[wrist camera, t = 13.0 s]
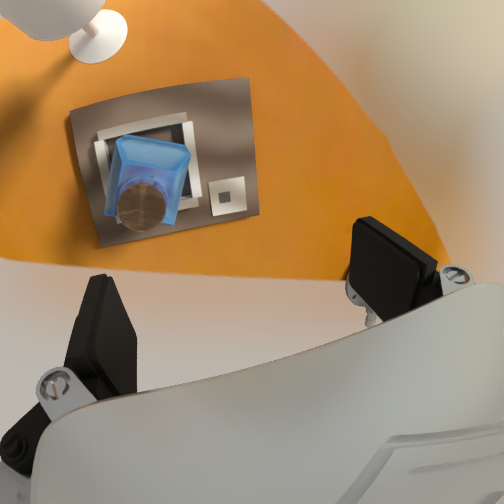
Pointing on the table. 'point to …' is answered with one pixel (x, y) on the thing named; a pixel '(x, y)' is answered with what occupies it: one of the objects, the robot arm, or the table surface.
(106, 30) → the champagne flute
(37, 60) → the table surface
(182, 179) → the perfume bottle
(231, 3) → the table surface
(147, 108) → the board
